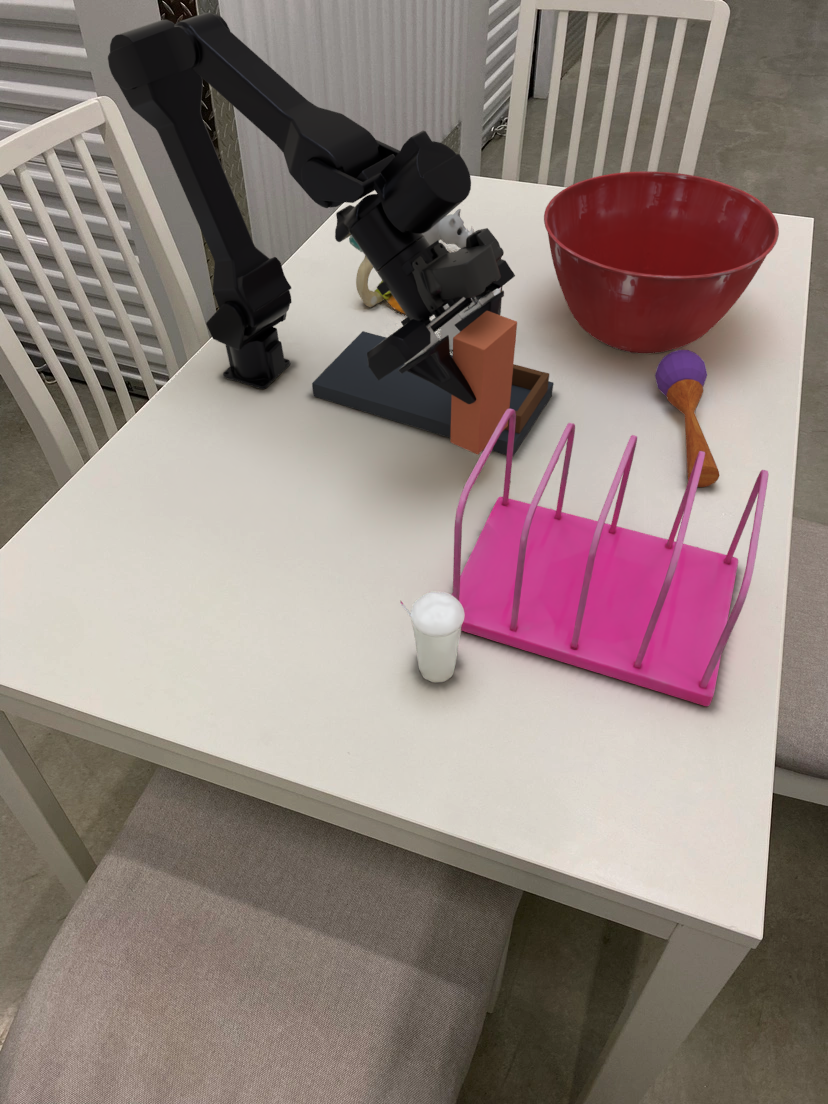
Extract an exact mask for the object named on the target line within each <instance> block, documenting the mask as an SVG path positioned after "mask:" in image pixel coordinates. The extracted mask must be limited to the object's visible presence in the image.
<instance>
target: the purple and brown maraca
mask: <svg viewBox="0 0 828 1104" xmlns="http://www.w3.org/2000/svg"><path fill="white" fill-rule="evenodd" d="M654 377H655V383H656V387H657V389H658V390H659V392H661V393H662V394H663V395H664V396H665V397H666V399H667V401H668V402H669V403H670V404H671V406H673V407H674V408H675V409H677V410H678V412H679V411H680V413H682V414H683V415H684V432H685V433H684V434H685V435H684V436H685V451H686V454H685V455H686V470H687V471H686V472H687V482H688V481H689V478H690V475H691V472H692V469H693V466H694V464H695V461H696V458H697V455H698V453H699V451H703V452H705V457H704V461H703V466H702V470H701V474H700V478H699V482H698V486H697V488H707V487H709V486H711V485H714V484H715V483H716V482H717V481H718V480H719V478H720V470H719V468H718V466H717V463H716V461H715V459H714V456H713V454H712V451H711V449H710V446H709V444H708V441H707V439H706V437H705V434H704V432H703V429H702V427H701V425H700V422H699V420H698V418H697V415H696V413H695V411H696V409H697V407H698V405H699V403H700V400H701V398H702V396H703V394H704V386H705V383H706V381H707V377H708V372H707V367H706V362H705V361H704V359H702V358H701V356H700V355H699V354H697V353H696V352H694V351H691V350H690V349H678V350H673V351H671V352H669V353H668V354H666V355H664V356H663V357H662V359H661V360H660V361H659V363H658V364H657V367H656V369H655V374H654Z"/></svg>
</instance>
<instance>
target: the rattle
mask: <svg viewBox="0 0 828 1104" xmlns="http://www.w3.org/2000/svg"><path fill="white" fill-rule="evenodd" d="M348 242H349V244H350V245H351V246H352V247H354V248H355V249H356V250H357V251H359V252H360V253H363V251H362V250H361V249H360V247H359V246H358V244H357V243H356V241H355V240H354V238H353V237H352V235H351V236H349V237H348ZM373 269H374V267H373V266H372V265H371V263H370V262H369V260H368V259H367V257H366V256H365V255H364V257H363V259H362V261H361V263H360V264H359V266H358V268H357V272H356V278H355V285H356V292H357V294H358V296H359V298H360V299H361V300H362V302H363V304H364V305H365V306H366V307H369V308H372V307H374V306H375V305H377V304H379V303H381V302H383V301H385V300H386V302H387V303H388V305H390V307H391V308H392V309H394V310H395V311H398V312H400V313H401V314H404V315H406V314H405V313H404V311H403V310H402V308H401V307H400V305H399V304H398V302H397V301H396V299H395V298H394V297H393V295H392V294H391V292H390V291H388V292H387V293H385V294H384V295H383V296H382V294H381V293H380V291H379V290H378V289H377V288H376V289H375V290H374V291H373V290H370V288H369V277H370V274H371V272H372V270H373ZM382 282H383V281H382V280H381V281H380V282H379V284H381V283H382Z"/></svg>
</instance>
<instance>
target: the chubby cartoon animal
mask: <svg viewBox="0 0 828 1104" xmlns="http://www.w3.org/2000/svg"><path fill="white" fill-rule="evenodd" d="M461 211H462V209H461V208H458V209H457V210H456V211H455V212H454V213H453V214H447V215H446V216H445V217H444V218H443V219H442V220H440V221H439V222H438V223H437V224H436V225H435V226H433V227H432V228H431V229H430V230H429V231H427V232H425V233H422V234H423V235H424V237H425V238H426V240H427V241H428V243H429V244H430V245H431V244H433V243H434V242H436V241H437V240H438V241H439V242H440V241H442V242H443V244H446V245H455V246H456V247H457V248H459V249H461V248H462V247H466V239H467V237H468V236H470V235H471V234H472V233H474V232H475V230H474V229H475V228H474V227H473V225H471V228H470V230H469V229H468V228H466V227H465V225H464V224H465V222H464V220H463V219H462V217H461Z"/></svg>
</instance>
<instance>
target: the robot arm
mask: <svg viewBox="0 0 828 1104" xmlns="http://www.w3.org/2000/svg"><path fill="white" fill-rule="evenodd" d="M107 61H108V67H109V71H110V73H111V76H112V77H113V79H114V82H116V83H117V86H118V87H119V89H120V90H121V92H122V95H123V96H124V98H125V100H126V101H127V103H128V105H129V107H130V108H131V109H132V110H133V111H134V112H135V113H136V114H137V115H138V116H140V117H141V119H143V120H144V121H145V122H147V123H148V124H149V125H150V126H152V127H153V129H155V130H156V133H157V134H158V136H159V138H160V140H161V142H162V145H163V147H164V149H165V152H166V154H167V156H168V159H169V161H170V163H171V165H172V168H173V170H174V172H175V174H176V176H177V179H178V182H179V184H180V186H181V188H182V191H183V192H184V194H185V197H186V199H187V202H188V204H189V206H190V208H191V210H192V213H193V216H194V218H195V220H196V222H197V224H198V226H199V229H200V232H201V234H202V235H203V237H204V238H203V239H204V240H205V242H206V245H207V248H208V250H209V253H210V254H211V256H212V259H213V261H214V267H213V281H212V292H213V295H214V298H215V301H216V303H217V306H218V309H217V310H216V312H214V314H213V315H212V316H211V317H210V318H209V320H207V322H206V323H205V324H206V327H207V329H208V332H209V333H210V335H211V336H210V337H211V338H212V339H213V340H214V341H216V342H219V343H221V344H224V346H225V350H226V354H227V358H228V364H229V367H228V368H227V369H225V370H224V371H223V373H222V375H223V378H225V379H227V380H230V381H234V382H238V383H241V384H244V385H247V386H251V387H252V388H253V387H254V388H256V389H259V390H265V389H266V388H268V387H269V386H270V385H271V384H272V383H273V382H274V381H275V380H277V378H278V377H279V376H280V375H281V374H282V373H283V372H284V371H285V370H286V369H287V368H288V367H289V366H290V365H291V361H290V359H288V358H285V357H284V356H285V355H284V349H283V344H282V341H281V340H280V339H279V338H280V337H279V333H278V328H277V327H275V326H276V325H278V324H280V323H281V322H284V321H285V320H286V319H287V313H288V311H289V309H290V306H291V304H292V295H291V291H290V290H292V286H291V284H290V283H289V281H288V280H287V278H286V275H285V273H284V269H283V266H282V262H281V261H280V260H279V258H278V257H276V256H272V257H270V258H269V257H268V256H267V255H266V254H265V253H263V252H262V251H261V250H260V249H259V248H257V246H255V243H254V241H253V238H252V236H251V234H250V231H249V229H248V226H247V224H246V222H245V219H244V217H243V214H242V212H241V209H240V207H239V205H238V202H237V200H236V197H235V195H234V191H233V189H232V187H231V185H230V182H229V180H228V178H227V175H226V173H225V170H224V168H223V165H222V163H221V160H220V159H219V155H218V152H217V151H216V148H215V146H214V143H213V140H212V138H211V136H210V133H209V130H208V128H207V126H206V123H205V121H204V119H203V115H202V99H203V98H202V97H203V85H204V83H203V80H204V81H205V82H206V83H207V84H208V85H209V86H211V88H213V89H214V90H215V92H217V93H218V94H219V95H221V96H222V97H223V98H224V99H225V101H227V102H228V103H230V104H231V105H232V106H233V107H234V108H235V109H236V110H237V111H238V112H240V113H241V115H243V116H244V117H245V118H246V119H247V120H248V121H249V122H250V123H252V124H253V125H254V126H255V127H256V128H257V129H259V130H260V131H261V133H263V134H264V135H265V136H266V137H267V138H269V139H270V141H272V143H274V144H275V145H276V146H277V147H278V149H279V150H280V151H281V152H282V153H283V157H284V160H285V163H286V166H287V169H288V173H289V174H290V176H291V177H292V178H293V179H294V181H296V183H297V184H298V185H299V187H301V189H302V190H303V191H304V192H305V193H306V194H307V196H308V197H309V198H310V199H311V200H312V201H313V202H314V203H315V204H317V205H318V206H320V207H322V208H323V209H329V208H330V209H331V208H337V207H339V206H341V205H342V204H345V203H347V204H348V203H349V205H347V206H345V207H344V208H341V209H340V210H338V211H337V212H336V214H335V216H336V226H335V230H334V239H335V241H336V242H337V243H341V242H343V241H344V240H346V239H349V237H350V236H351V235H352V237H353V238H354V240H355V241H356V243H357V244H358V246H359V247H360V249H361V250H362V251H363V252H362V253H363V254H364V257H365V256H366V257H367V259H368V260H369V262H370V263H371V265H372V266H373V267H374V268H373V269H374V270H375V272H376V273H377V275H378V276H379V278H380V279H381V281H383V282H382V283H381V284H380V283H378V285H377V286H376V289H378V290H379V291H380V293H381V294H382V296H383V295H384V294H385V293H387V292H388V291H390V292H391V294H392V295H393V297H394V298H395V299H396V301H397V302H398V304H399V305H400V307H401V308H402V310H403V311H404V313H405V314H404V313H403V314H404V315H405V316H406V317H405V318H403V319H402V320H401V321H400V323H401V325H402V326H401V327H399V328H398V329H397V330H396V331H394V332H393V333H392V334H390V335H389V336H386V339H385V340H383V341H382V342H381V343H379V344H378V345H377V346H375V347H374V348H373V349H371V350H370V351H369V352H367V360H368V367H369V368H370V369H371V371H372V372H373V374H374V375H375V377H376V378H377V379H378V380H380V379H381V378H383V377H384V376H386V375H388V374H389V373H391V372H392V371H394V370H395V369H397V368H398V367H400V366H401V365H403V364H405V365H403V366H402V367H401V368H400V369H399V370H398V371H399V372H400V373H401V374H402V373H404V372H405V371H407V372H409V373H411V374H414V375H416V376H418V377H420V378H422V379H424V380H426V381H429V382H431V383H432V384H434V385H436V386H438V387H440V388H441V389H443V390H445V391H446V392H448V393H450V394H452V395H453V396H455V397H457V398H458V399H460V400H462V401H464V402H465V403H467V404H472V403H474V402H475V401H476V397H475V395H474V393H473V391H472V389H471V387H470V385H469V383H468V382H467V380H466V379H465V377H464V375H463V374H462V372H461V371H460V369H459V368H458V366H457V365H456V363H455V361H454V360H453V358H452V357H451V355H452V354H451V352H450V351H451V350H450V349H449V336H448V335H447V336H446V337H444V338H443V339H441V338H440V339H439V337H438V336H437V334H436V332H437V331H438V330H439V329H441V327H442V326H443V325H444V324H446V323H447V322H448V321H449V320H451V319H452V318H453V317H454V316H456V315H457V314H458V315H459V316H460V318H461V320H460V321H459V322H457V323H456V324H455V327H456V328H457V329H458V330H459V331H460V332H461V331H462V330H463V329H464V328H466V327H467V326H468V325H469V324H471V323H472V322H473V321H474V320H476V319H477V318H478V317H479V316H481V315H482V314H483V313H484V312H486V311H490V312H492V313H495V314H498V309H499V305H500V300H501V298H502V299H503V297H505V291H504V290H502V291H501V292H500V293H498V294H497V295H495V296H494V294H493V291H494V290H495V289H499V288H500V287H502V288H503V286H504V285H506V284H507V283H508V282H509V281H511V280H512V279H514V278H515V277H516V275H515V273H514V272H513V270H512V269H511V267H510V265H509V264H508V262H507V261H506V260H505V259H502V257H504V253H505V251H504V249H503V248H502V247H501V245H500V242H499V241H498V239H497V238H496V237H495V235H494V234H493V232H492V231H491V230H490V229H489V228H488V227H486V228H482V229H478V230H477V229H476V230H474V233H472V234H471V235H470V236H468V237H467V239H466V247H462V248H459V249H458V250H455V251H451V252H450V251H448V249H447V248H446V246H445V245H444V243H442V242H440V240H439V241H438V240H437V241H436V242H434V243H433V244H431V245H430V244H429V243H428V241H427V240H426V238H425V237H424V235H423V234H422V233H425V232H427V231H429V230H430V229H431V228H432V227H433V226H435V225H436V224H437V223H438V222H439V221H440V220H442V219H443V218H444V217H445V216H447V215H450V214H449V213H451V212H453V210H455V209H456V208H457V207H458V206H459V205H460V204H462V203H463V202H464V201H465V200H466V199H467V198H468V197H469V195H470V193H471V190H472V179H471V173H470V171H469V167H468V166H467V163H466V162H465V160H464V158H463V157H462V156H461V155H460V154H459V153H456V152H455V151H454V150H453V149H452V148H450V147H449V146H448V145H447V144H444V143H442V142H439V141H433V140H432V139H431V137H430V136H429V134H428V133H427V130H421V131H418V132H417V133H416V134H414V135H412V136H410V137H409V138H408V139H407V140H406V141H405V142H404V144H403V145H402V147H401V149H397V148H395V147H393V146H390V145H389V144H386V143H384V142H382V141H381V140H378V139H376V138H375V136H373V134H372V133H371V132H370V131H369V130H368V129H366V128H365V127H363V126H361V125H360V124H359V123H357V122H356V121H354V120H352V119H351V118H349V117H348V116H347V115H345V114H343V113H340V112H339V111H338V112H337V111H334V110H331V109H328V108H327V109H326V108H322V107H319V106H317V105H316V104H314V103H313V102H310V100H308V99H307V98H305V96H303V95H302V94H301V93H300V92H299V91H298V90H297V89H295V88H294V86H292V85H291V84H290V83H289V82H288V81H287V80H286V79H284V78H283V77H282V76H281V75H280V74H279V73H277V71H275V69H273V68H272V67H271V66H270V65H269V64H268V63H266V61H264V60H263V59H262V58H261V57H260V56H259V55H258V54H256V53H255V52H254V51H253V50H252V49H251V48H250V47H249V46H248V45H246V44H245V43H244V42H243V41H242V40H240V38H238V37H237V36H236V35H235V34H234V33H233V32H232V31H231V29H230V27H229V25H228V23H227V22H226V20H225V19H224V18H223V17H222V16H221V15H219V14H218V13H212V12H204V13H200V14H198V15H194V16H192V17H189V18H186V19H182V20H179V21H178V22H176V23H174V22H173V21H171V20H169V19H160V20H158V21H154V22H150V23H148V24H145V25H142V26H139V27H136V28H133V29H130V30H127V31H124V32H121V33H118V34H115V35H114V36H113V37H112V38H111V41H110V44H109V53H108V55H107ZM374 191H375V193H373V192H374ZM357 201H359V202H358V203H357V204H356V205H351V204H354V203H356V202H357ZM501 301H502V300H501ZM446 304H448V305H449V307H448V308H447V309H446V310H445V309H444V307H443V306H445V305H446ZM433 316H434V318H432V319H430V318H431V317H433Z"/></svg>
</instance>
